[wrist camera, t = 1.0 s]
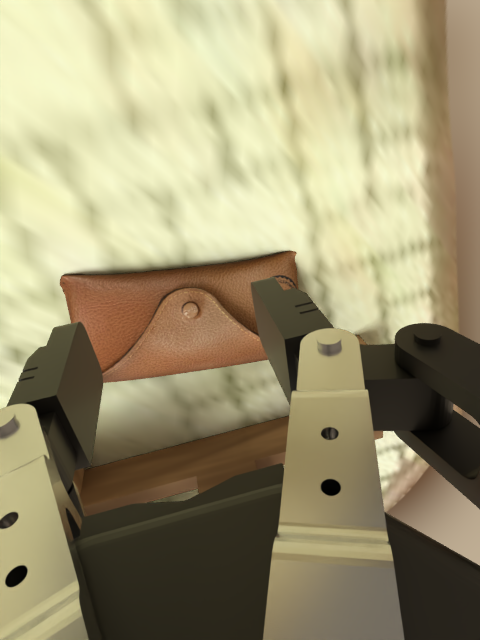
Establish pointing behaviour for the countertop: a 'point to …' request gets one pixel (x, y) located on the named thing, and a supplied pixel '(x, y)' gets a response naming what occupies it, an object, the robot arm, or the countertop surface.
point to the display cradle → (184, 466)
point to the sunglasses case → (174, 316)
